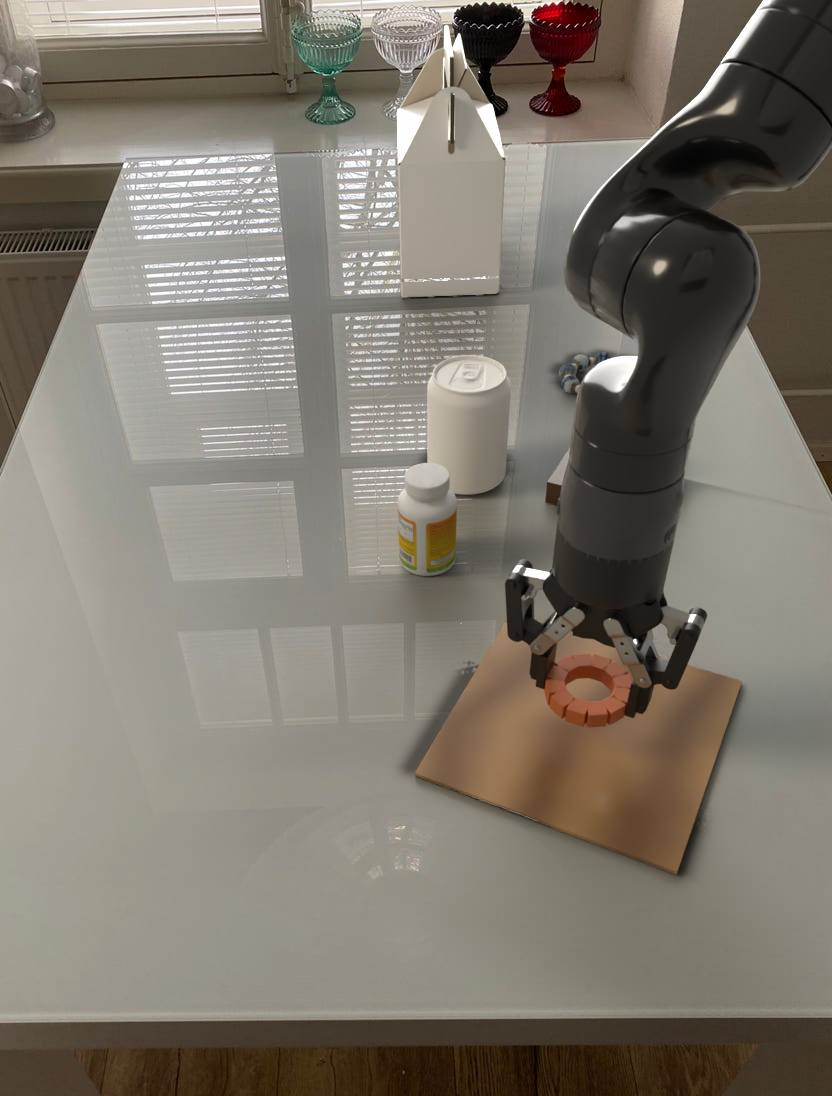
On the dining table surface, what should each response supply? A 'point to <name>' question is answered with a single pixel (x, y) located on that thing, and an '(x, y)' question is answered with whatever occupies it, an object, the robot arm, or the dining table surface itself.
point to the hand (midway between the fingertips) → (587, 694)
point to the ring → (580, 709)
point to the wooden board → (586, 752)
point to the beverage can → (469, 422)
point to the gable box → (449, 180)
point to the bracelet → (578, 364)
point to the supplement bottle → (427, 520)
